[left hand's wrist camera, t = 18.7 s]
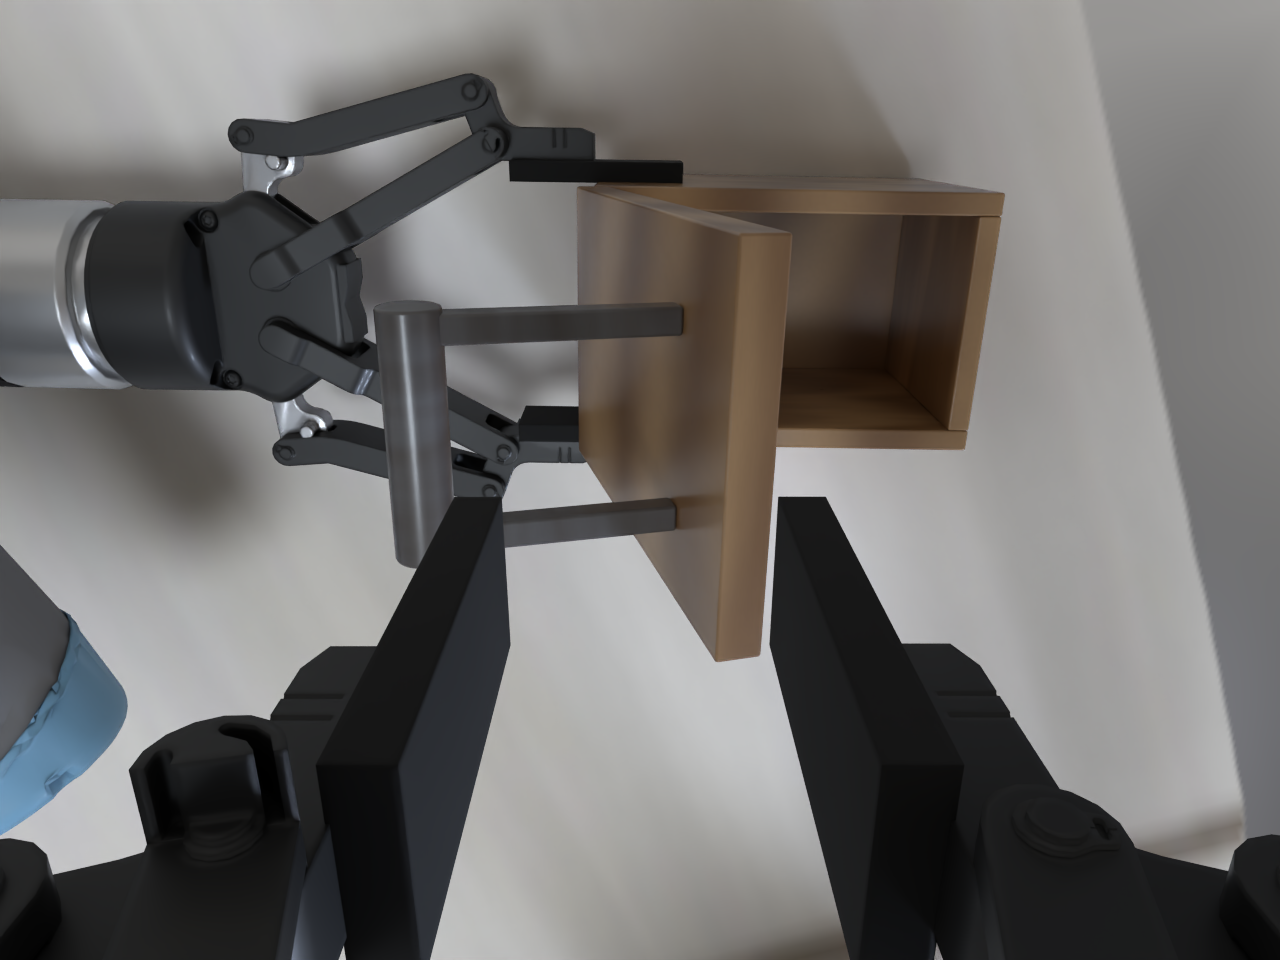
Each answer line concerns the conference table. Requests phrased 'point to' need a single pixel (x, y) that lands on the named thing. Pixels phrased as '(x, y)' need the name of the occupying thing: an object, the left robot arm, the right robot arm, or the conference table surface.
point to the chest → (869, 300)
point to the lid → (629, 401)
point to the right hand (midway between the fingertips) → (677, 304)
